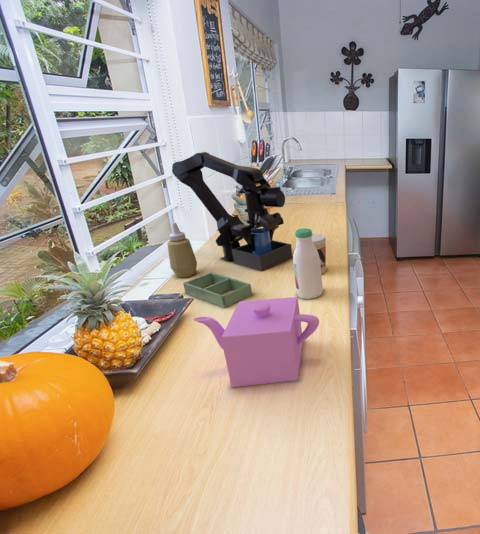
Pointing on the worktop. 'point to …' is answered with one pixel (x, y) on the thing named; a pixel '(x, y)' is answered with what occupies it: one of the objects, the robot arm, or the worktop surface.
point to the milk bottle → (307, 266)
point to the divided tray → (218, 289)
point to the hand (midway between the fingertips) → (261, 248)
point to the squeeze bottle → (181, 253)
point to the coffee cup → (320, 249)
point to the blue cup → (262, 241)
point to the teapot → (263, 340)
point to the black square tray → (262, 256)
